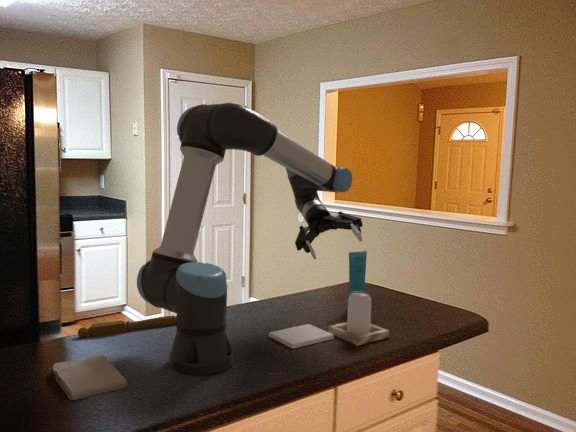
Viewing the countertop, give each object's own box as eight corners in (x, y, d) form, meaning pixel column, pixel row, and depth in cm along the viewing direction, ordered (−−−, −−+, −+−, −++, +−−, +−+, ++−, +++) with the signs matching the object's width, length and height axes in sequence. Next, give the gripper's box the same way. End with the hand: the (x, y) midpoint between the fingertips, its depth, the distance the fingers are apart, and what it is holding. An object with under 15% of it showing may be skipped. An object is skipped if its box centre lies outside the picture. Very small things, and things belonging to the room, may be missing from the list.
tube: (358, 304, 178) (361, 249, 176) (369, 308, 174) (371, 251, 172) (342, 308, 173) (345, 251, 171) (353, 311, 169) (355, 253, 167)
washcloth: (101, 362, 125) (101, 349, 125) (129, 389, 111) (129, 375, 110) (49, 373, 118) (48, 360, 117) (71, 404, 104) (71, 390, 103)
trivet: (292, 348, 135) (292, 344, 135) (269, 336, 144) (269, 332, 144) (333, 338, 143) (333, 334, 143) (308, 327, 152) (308, 323, 152)
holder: (357, 345, 139) (357, 338, 138) (328, 332, 148) (328, 326, 148) (388, 337, 146) (389, 330, 145) (358, 325, 155) (359, 319, 155)
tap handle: (187, 315, 153) (78, 329, 138) (186, 325, 154) (78, 340, 139) (183, 312, 156) (76, 326, 141) (183, 322, 156) (77, 337, 141)
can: (369, 340, 143) (371, 297, 142) (345, 337, 144) (347, 295, 143) (370, 332, 150) (372, 291, 148) (347, 330, 151) (349, 290, 149)
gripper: (356, 212, 163) (382, 241, 144) (282, 240, 162) (298, 273, 143) (351, 191, 160) (376, 218, 141) (275, 220, 158) (290, 251, 139)
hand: (337, 246), depth 142 cm, fingers open, 13 cm apart
